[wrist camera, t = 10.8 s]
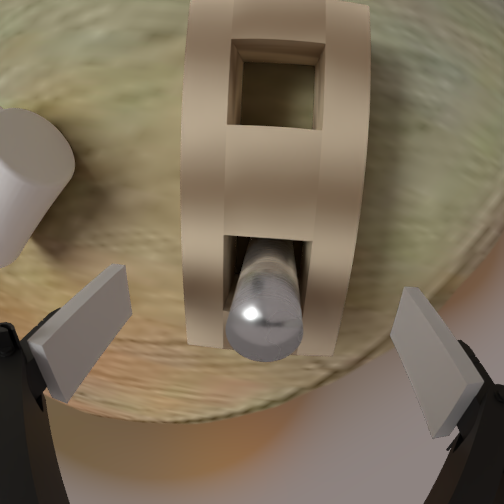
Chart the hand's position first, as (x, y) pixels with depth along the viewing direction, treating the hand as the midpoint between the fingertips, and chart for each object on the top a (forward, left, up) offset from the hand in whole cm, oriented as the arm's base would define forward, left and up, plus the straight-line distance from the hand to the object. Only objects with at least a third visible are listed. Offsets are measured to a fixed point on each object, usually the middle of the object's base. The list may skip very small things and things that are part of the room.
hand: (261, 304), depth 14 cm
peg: (0, 0, -8) cm, 8 cm away
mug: (-6, -21, -8) cm, 23 cm away
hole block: (-5, 0, -8) cm, 9 cm away
